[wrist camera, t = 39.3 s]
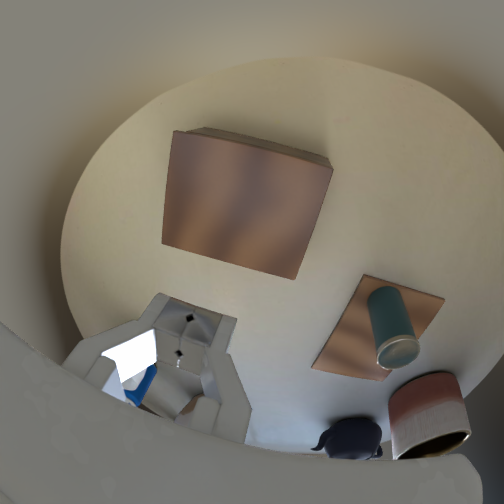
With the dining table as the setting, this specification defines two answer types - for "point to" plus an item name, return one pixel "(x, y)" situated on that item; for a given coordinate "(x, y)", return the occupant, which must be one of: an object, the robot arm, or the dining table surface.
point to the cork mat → (370, 331)
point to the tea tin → (392, 329)
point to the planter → (428, 417)
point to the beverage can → (141, 387)
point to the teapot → (352, 440)
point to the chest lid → (242, 203)
